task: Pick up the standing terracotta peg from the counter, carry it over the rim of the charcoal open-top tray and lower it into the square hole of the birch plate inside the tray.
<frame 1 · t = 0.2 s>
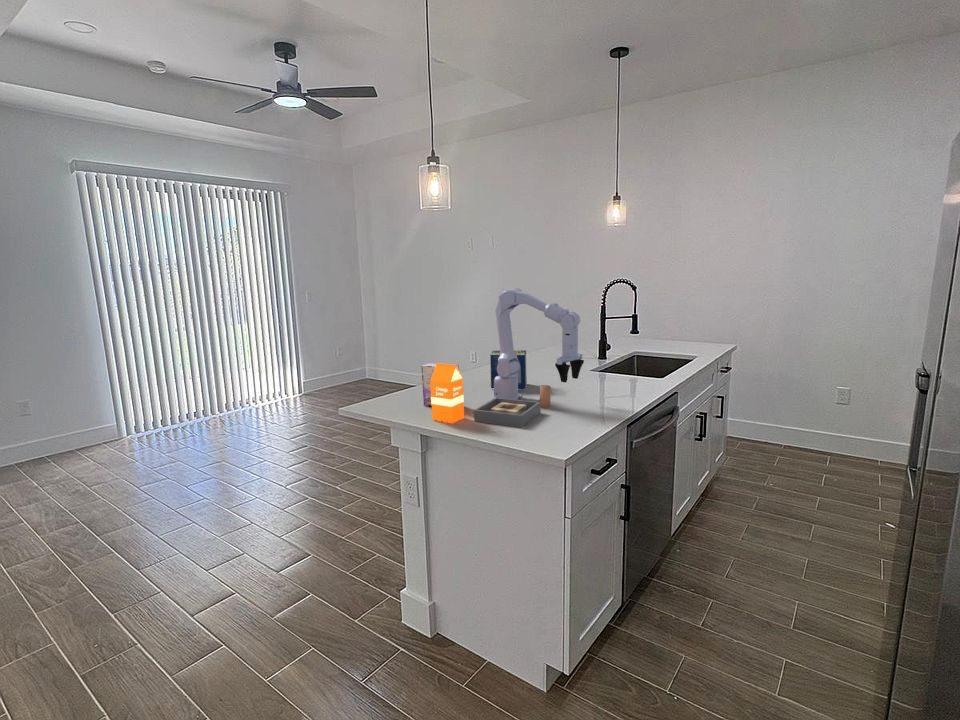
hand: (569, 380, 195), 10 cm above the table, tool pointing down, fingers open, 7 cm apart
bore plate: (508, 414, 187), resting on tray
candy box: (442, 406, 201), on the table
peg: (545, 406, 196), on the table
protein box: (509, 386, 229), on the table
orange juice: (448, 419, 184), on the table
tray: (508, 416, 184), on the table
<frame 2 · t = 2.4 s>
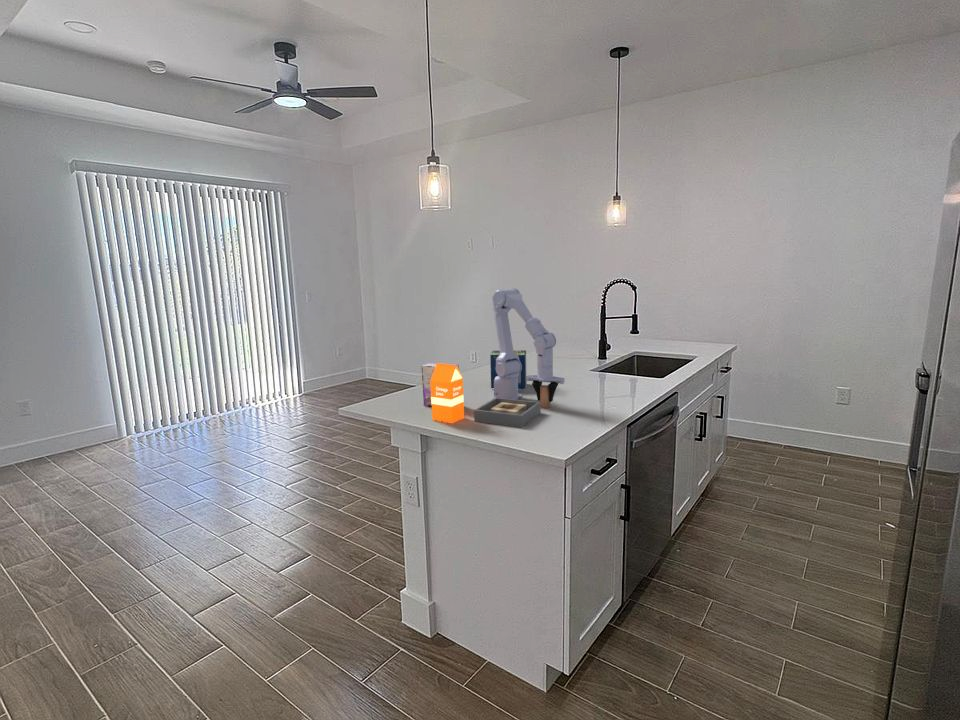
hand: (545, 400, 195), 2 cm above the table, tool pointing down, fingers closed on peg, 4 cm apart
peg: (545, 406, 196), on the table, touching gripper
everything else where it was.
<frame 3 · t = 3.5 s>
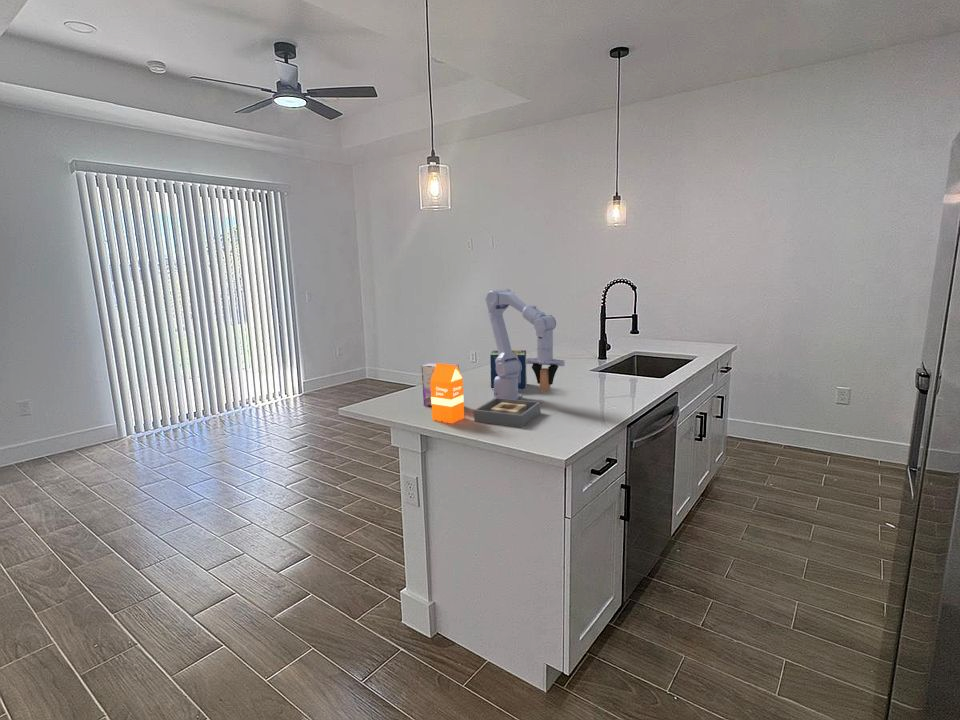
hand: (545, 383, 194), 9 cm above the table, tool pointing down, fingers closed on peg, 4 cm apart
peg: (545, 390, 194), point 7 cm above the table, touching gripper
everything else where it was.
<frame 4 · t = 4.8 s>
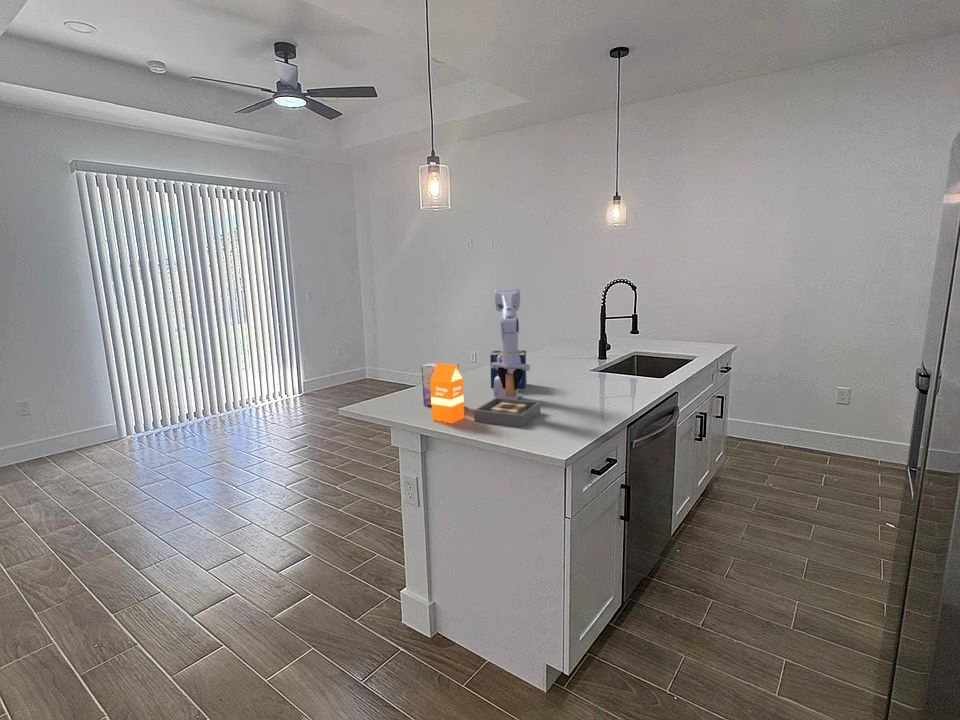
hand: (510, 388, 186), 9 cm above the table, tool pointing down, fingers closed on peg, 4 cm apart
peg: (510, 395, 187), point 7 cm above the table, touching gripper
everything else where it was.
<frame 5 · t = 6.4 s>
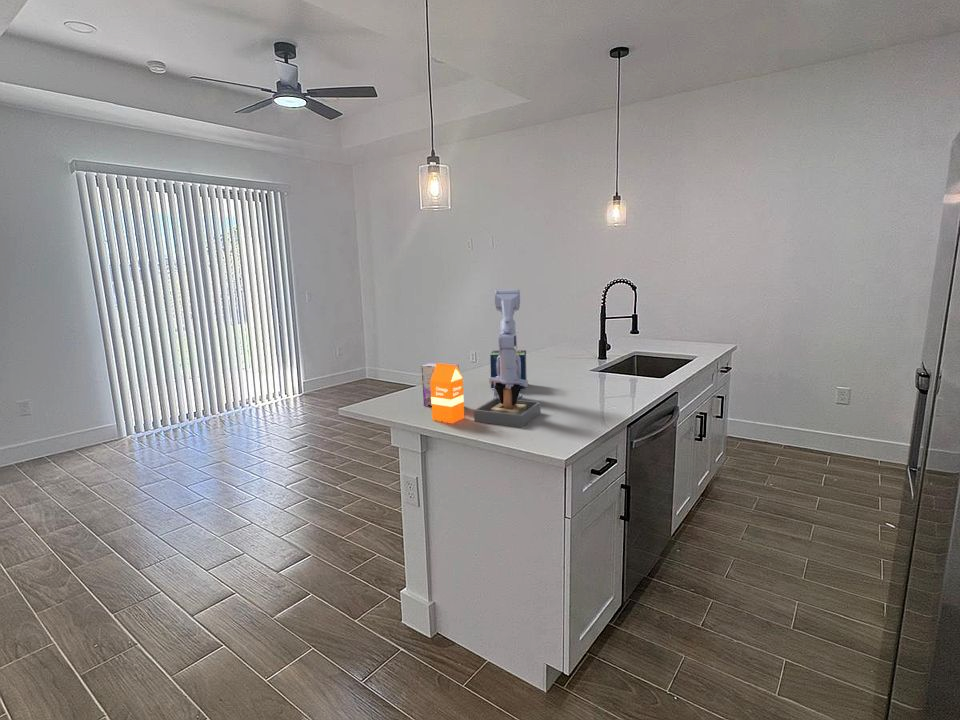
hand: (508, 403, 187), 4 cm above the table, tool pointing down, fingers closed on peg, 4 cm apart
peg: (508, 410, 187), point 1 cm above the table, touching gripper
everything else where it was.
when the fingers open (4 cm above the table, at t = 7.4 s): peg stays where it is, resting on tray.
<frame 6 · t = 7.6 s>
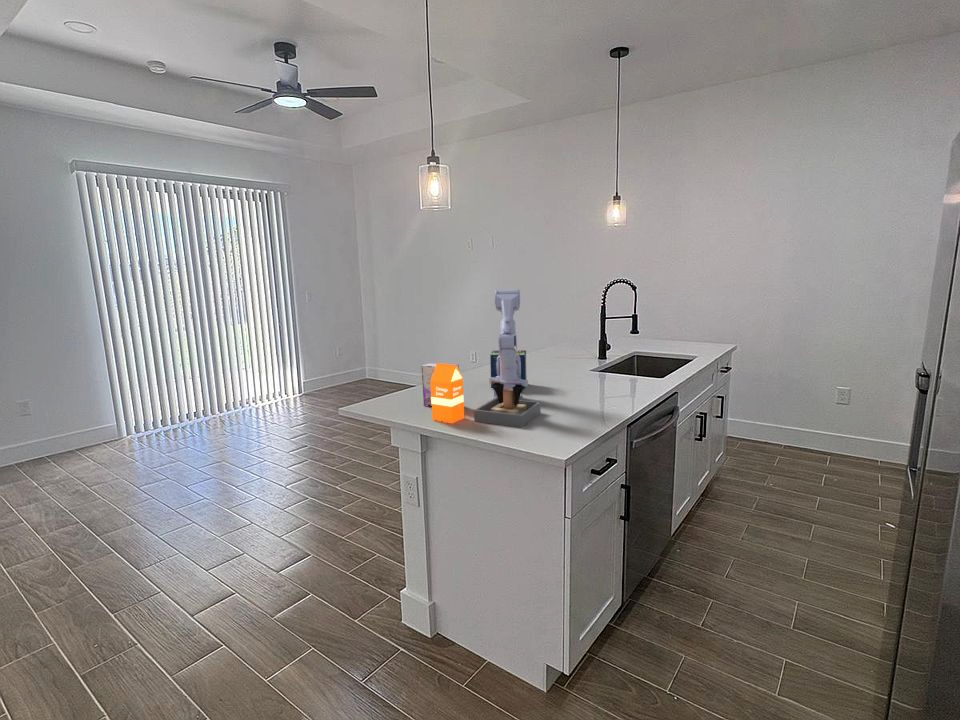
hand: (508, 403, 187), 4 cm above the table, tool pointing down, fingers open, 5 cm apart
peg: (508, 411, 187), point 1 cm above the table, touching tray
everything else where it was.
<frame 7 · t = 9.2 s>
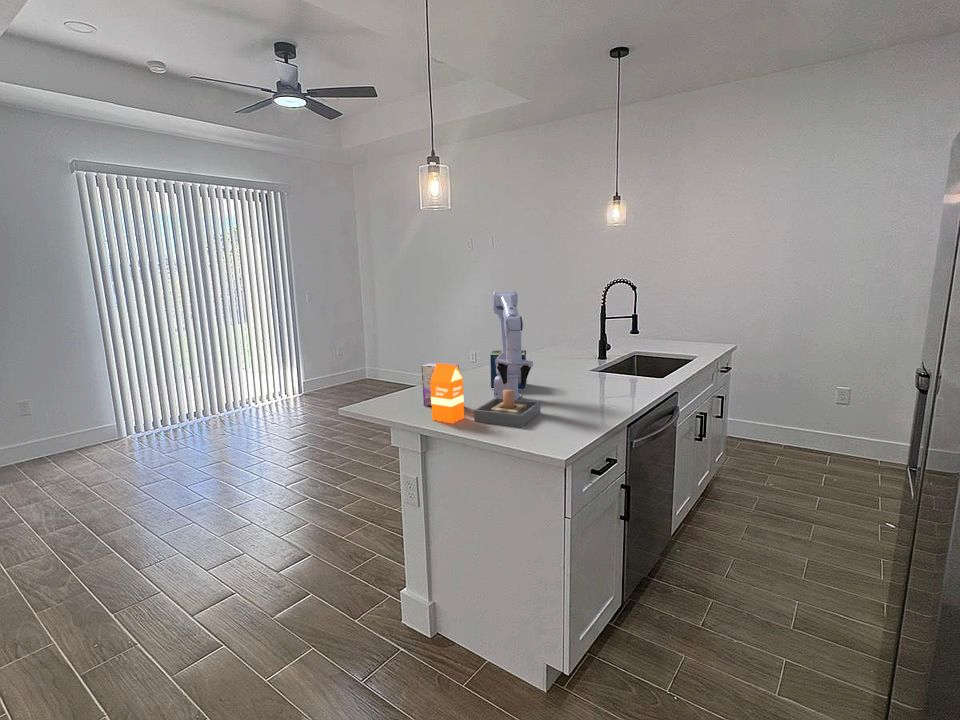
hand: (514, 384, 193), 9 cm above the table, tool pointing down, fingers open, 7 cm apart
nothing on the table moved.
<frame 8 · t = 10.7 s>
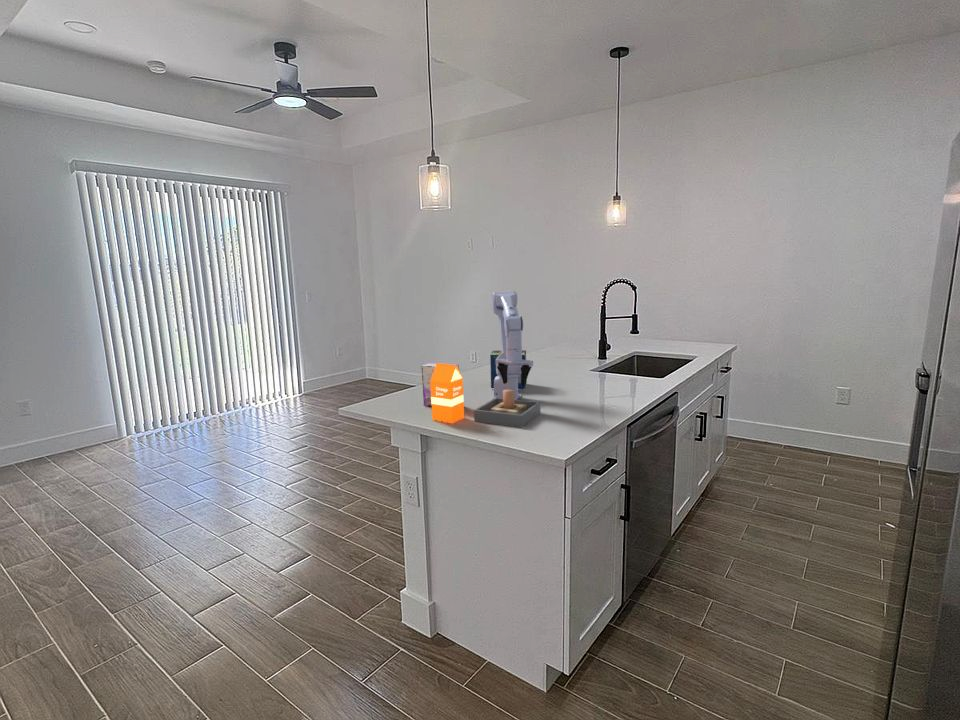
hand: (514, 384, 193), 9 cm above the table, tool pointing down, fingers open, 7 cm apart
nothing on the table moved.
at the end: peg 0.1 cm from the target spot on the tray, point 0.8 cm above the tray's base; peg tilted 0°; the gripper is holding nothing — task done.
